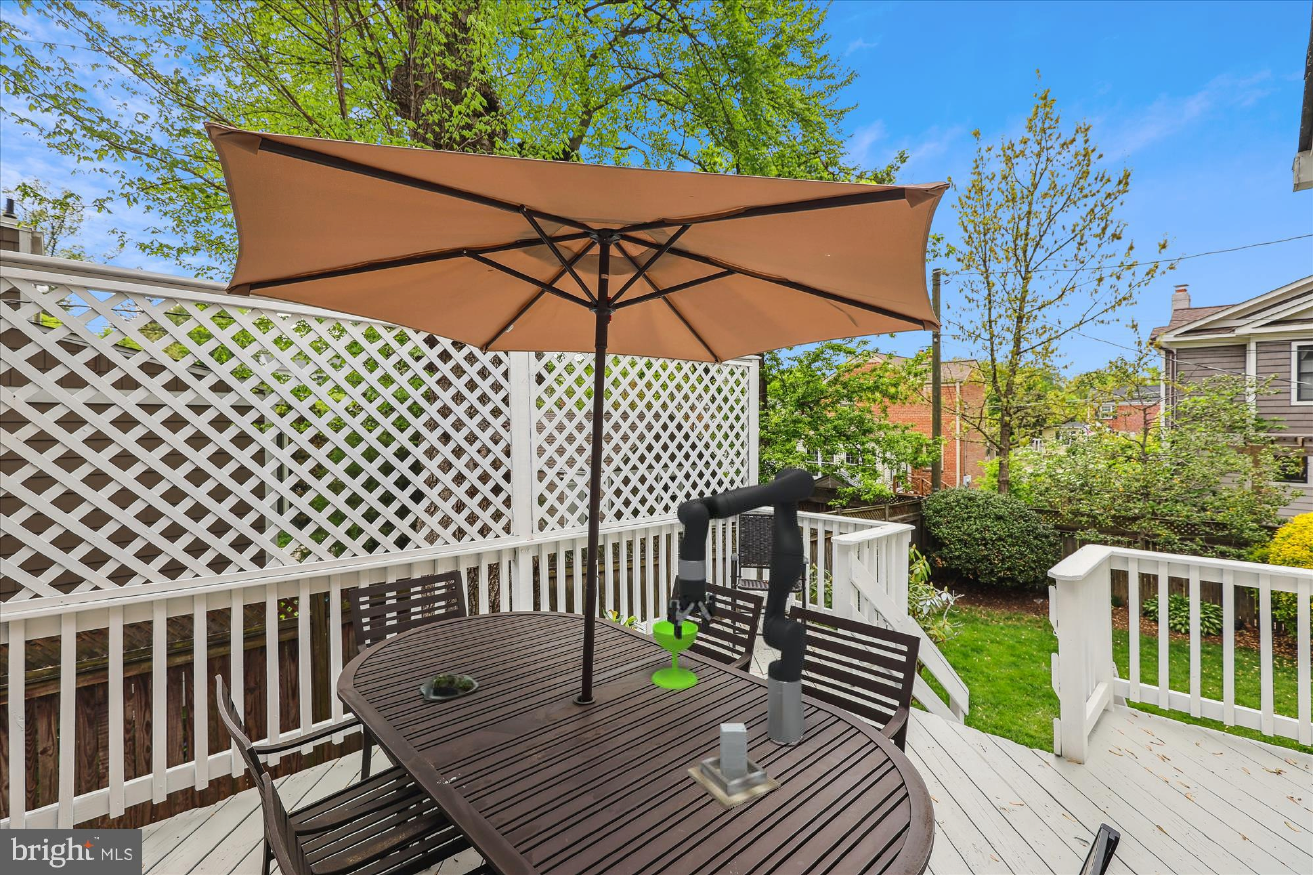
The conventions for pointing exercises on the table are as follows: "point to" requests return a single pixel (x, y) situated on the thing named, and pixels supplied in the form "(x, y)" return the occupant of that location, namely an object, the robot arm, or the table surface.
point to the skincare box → (733, 750)
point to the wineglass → (674, 654)
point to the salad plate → (448, 688)
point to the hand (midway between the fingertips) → (691, 636)
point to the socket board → (732, 782)
